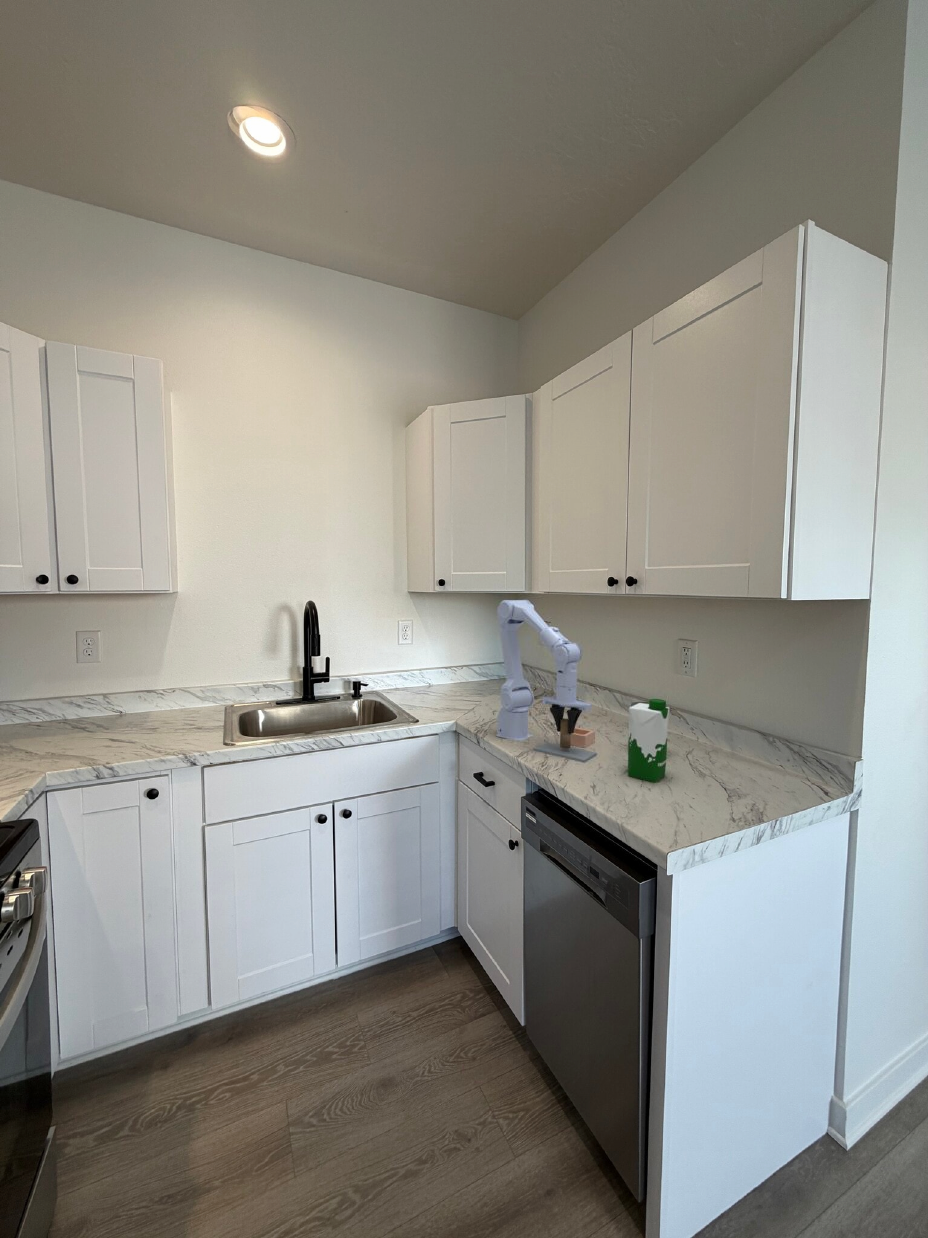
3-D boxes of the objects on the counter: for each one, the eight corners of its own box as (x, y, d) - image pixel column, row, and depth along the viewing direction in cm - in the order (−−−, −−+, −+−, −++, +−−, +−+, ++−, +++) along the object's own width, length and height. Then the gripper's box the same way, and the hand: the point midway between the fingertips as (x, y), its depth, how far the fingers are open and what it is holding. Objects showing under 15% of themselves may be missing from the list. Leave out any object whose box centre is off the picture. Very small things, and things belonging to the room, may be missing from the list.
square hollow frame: (563, 744, 158) (564, 732, 158) (573, 739, 164) (574, 727, 163) (584, 749, 154) (585, 736, 154) (594, 744, 159) (595, 731, 159)
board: (533, 752, 151) (533, 748, 151) (547, 745, 157) (547, 741, 157) (584, 764, 141) (584, 760, 141) (596, 757, 147) (596, 752, 147)
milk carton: (658, 785, 127) (661, 705, 126) (622, 776, 133) (625, 699, 131) (669, 775, 134) (672, 699, 132) (635, 767, 139) (638, 694, 138)
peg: (558, 747, 149) (558, 720, 148) (562, 744, 151) (563, 718, 151) (567, 749, 147) (568, 721, 146) (572, 746, 149) (572, 719, 149)
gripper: (596, 686, 146) (594, 733, 147) (550, 680, 155) (549, 724, 156) (585, 690, 141) (584, 739, 142) (539, 683, 150) (538, 729, 151)
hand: (565, 732), depth 149 cm, fingers closed on peg, 3 cm apart
